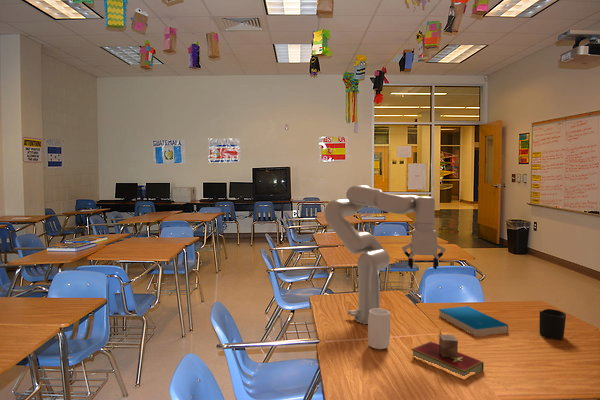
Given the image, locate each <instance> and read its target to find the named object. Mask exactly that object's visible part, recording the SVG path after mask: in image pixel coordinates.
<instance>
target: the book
mask: <svg viewBox="0 0 600 400" xmlns="http://www.w3.org/2000/svg"><path fill="white" fill-rule="evenodd" d="M438 311H439V315H438V316H439V317H440V318H441V317H442V319H443V318H444V320H445V319H446V320H445V321H446V322H448V323H450V322H451V324H452V323H453V324H452V325H454V326H455V327H458V328H460V329H461V328H462V330H463V329H464V330H463V331H465V330H466V331H465V332H467V331H468V332H467V333H469V332H470V333H472V334H474V335H475V336H474V335H473V336H474V337H476V336H477V337H482V336H481V335H485V336H490V334H492V335H499V333H500V334H507V333H508V332H509V326H508V324H507V323H505V322H503V321H501V320H499V319H496V318H495V317H492V316H489V315H488V314H485V313H483V312H481V311H480V310H477V309H474V308H473V307H470V306H468V305H466V306H456V307H447V308H439V309H438ZM470 333H469V334H470ZM472 334H471V335H472Z"/></svg>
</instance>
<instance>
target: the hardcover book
mask: <svg viewBox="0 0 600 400" xmlns="http://www.w3.org/2000/svg"><path fill="white" fill-rule="evenodd" d="M411 351H412V357H413V356H416V357H418V358H421V359H423V360H426V361H428V362H431V363H434V364H437V365H439V366H441V367H443V368H446V369H448V370H450V371H452V372H455V373H458V374H460V375H462V376H465V375H467V374H469V373H470V372H475V373H476V374H478V373H480V372H484V363H485V362H484V361H482V360H479V359H477V358H475V357H471V356H469V355H466V354H464V353H461V352H459V351H457V358H451V357H442V355H441V354H440V352H439V343H436V342H433V341H427V342H424V343H423V344H420V345H418V346H415V347H413V348H411Z"/></svg>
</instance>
